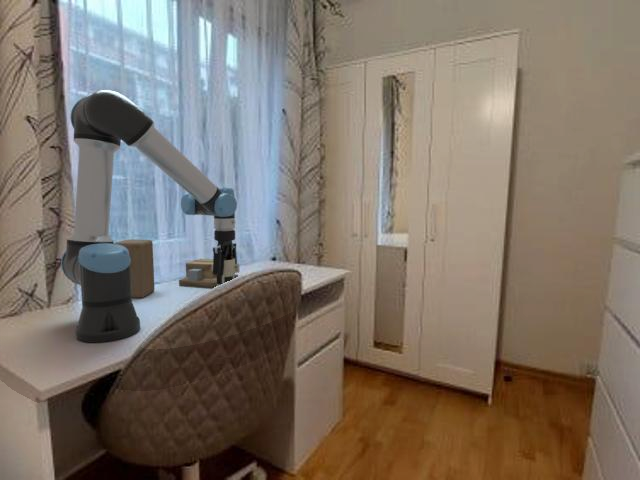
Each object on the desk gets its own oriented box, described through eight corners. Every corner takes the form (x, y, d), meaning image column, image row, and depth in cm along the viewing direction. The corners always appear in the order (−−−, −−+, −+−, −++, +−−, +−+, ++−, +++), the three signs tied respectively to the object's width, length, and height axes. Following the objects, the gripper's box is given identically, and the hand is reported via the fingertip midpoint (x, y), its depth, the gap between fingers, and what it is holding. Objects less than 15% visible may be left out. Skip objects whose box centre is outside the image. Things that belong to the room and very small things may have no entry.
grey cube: (197, 280, 153) (197, 271, 152) (188, 280, 154) (188, 270, 153) (202, 278, 157) (202, 269, 156) (194, 278, 158) (193, 268, 157)
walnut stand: (219, 289, 150) (218, 267, 149) (179, 285, 155) (178, 265, 154) (238, 280, 166) (237, 260, 165) (200, 277, 170) (200, 258, 169)
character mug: (243, 291, 148) (242, 257, 146) (236, 295, 141) (235, 261, 139) (216, 289, 150) (215, 256, 148) (208, 294, 143) (207, 259, 141)
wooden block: (143, 298, 136) (140, 242, 134) (115, 298, 136) (112, 242, 134) (155, 291, 146) (153, 239, 144) (129, 291, 146) (127, 239, 144)
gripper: (220, 232, 132) (221, 297, 135) (245, 227, 151) (246, 284, 154) (200, 231, 134) (202, 296, 136) (228, 226, 153) (229, 283, 156)
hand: (226, 289), depth 145 cm, fingers closed on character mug, 7 cm apart
